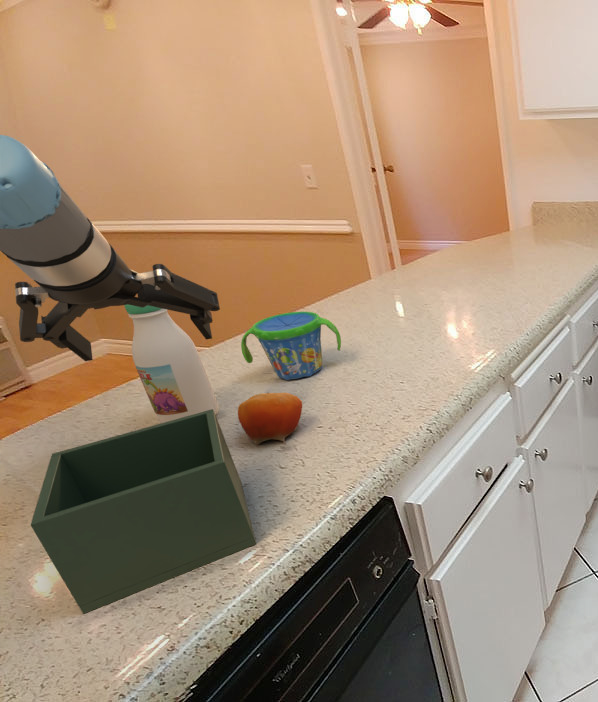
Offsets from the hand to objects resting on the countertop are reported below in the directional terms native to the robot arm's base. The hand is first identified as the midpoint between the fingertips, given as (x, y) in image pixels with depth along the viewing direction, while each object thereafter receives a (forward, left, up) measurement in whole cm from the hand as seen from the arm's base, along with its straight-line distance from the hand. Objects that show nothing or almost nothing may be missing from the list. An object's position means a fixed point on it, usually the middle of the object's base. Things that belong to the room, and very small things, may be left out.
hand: (150, 341), depth 79 cm
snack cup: (-12, +18, -15) cm, 26 cm away
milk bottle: (-5, +1, -15) cm, 16 cm away
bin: (+28, -2, -15) cm, 32 cm away
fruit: (+10, +11, -15) cm, 21 cm away
